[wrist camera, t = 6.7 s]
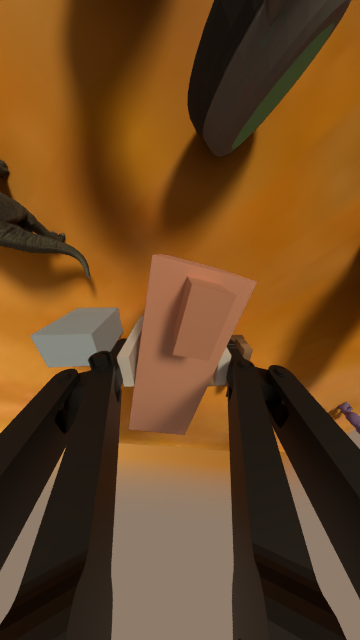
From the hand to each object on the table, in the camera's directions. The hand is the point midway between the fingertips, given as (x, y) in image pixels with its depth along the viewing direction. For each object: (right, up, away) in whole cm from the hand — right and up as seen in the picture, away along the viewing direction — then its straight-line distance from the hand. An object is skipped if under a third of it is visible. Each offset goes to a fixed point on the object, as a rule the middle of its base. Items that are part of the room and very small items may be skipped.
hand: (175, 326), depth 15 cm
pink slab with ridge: (0, 0, 0) cm, 0 cm away
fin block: (-14, +1, +10) cm, 17 cm away
